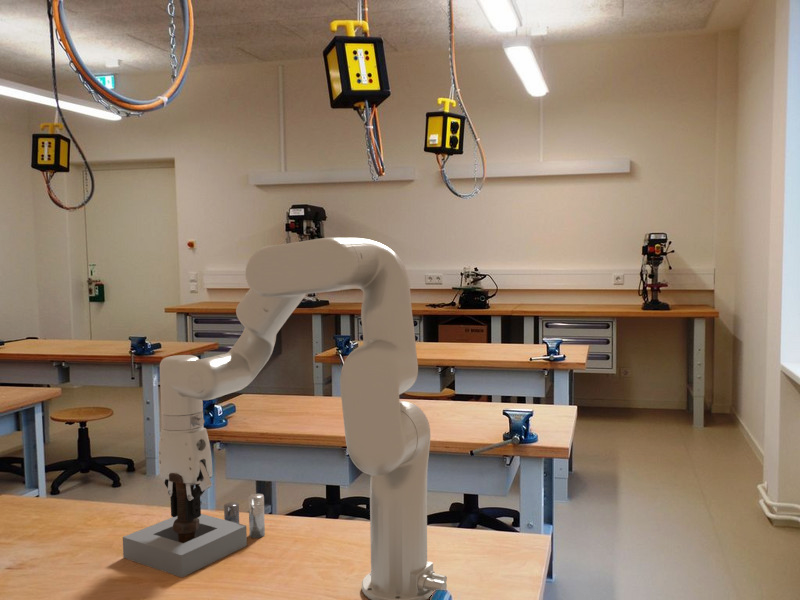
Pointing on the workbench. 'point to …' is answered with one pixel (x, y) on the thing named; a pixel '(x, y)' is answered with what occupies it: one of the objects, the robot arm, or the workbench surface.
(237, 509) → the pin short
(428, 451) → the robot arm
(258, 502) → the pin mid
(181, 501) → the bolt
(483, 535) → the workbench surface
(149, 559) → the frame
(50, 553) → the workbench surface
